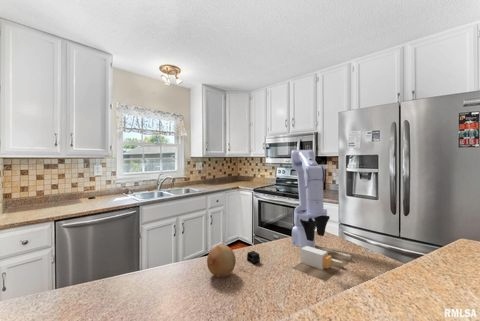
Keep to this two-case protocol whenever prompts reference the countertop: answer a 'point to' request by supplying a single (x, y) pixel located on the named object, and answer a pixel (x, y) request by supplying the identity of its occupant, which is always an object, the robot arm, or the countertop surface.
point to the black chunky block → (253, 257)
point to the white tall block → (315, 257)
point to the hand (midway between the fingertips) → (315, 237)
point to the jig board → (337, 263)
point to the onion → (221, 260)
